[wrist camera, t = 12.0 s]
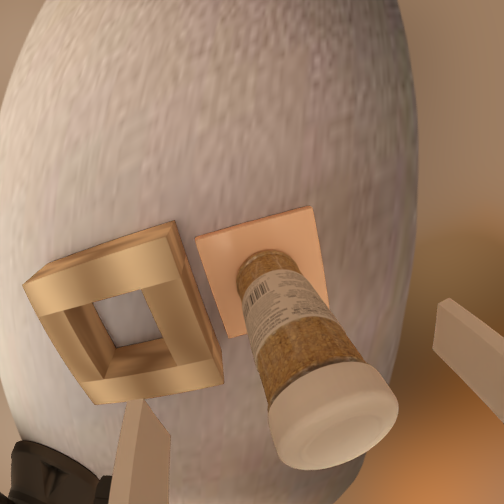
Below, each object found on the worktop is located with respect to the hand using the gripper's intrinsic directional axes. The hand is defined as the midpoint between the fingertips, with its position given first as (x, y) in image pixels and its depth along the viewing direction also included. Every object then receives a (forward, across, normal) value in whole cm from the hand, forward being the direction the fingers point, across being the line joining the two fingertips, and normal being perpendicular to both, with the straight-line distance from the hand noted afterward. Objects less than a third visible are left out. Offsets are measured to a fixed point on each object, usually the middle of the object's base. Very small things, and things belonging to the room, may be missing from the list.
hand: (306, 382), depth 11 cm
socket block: (+11, -10, 0) cm, 15 cm away
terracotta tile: (+11, 0, 0) cm, 11 cm away
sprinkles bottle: (+10, 0, 0) cm, 10 cm away
